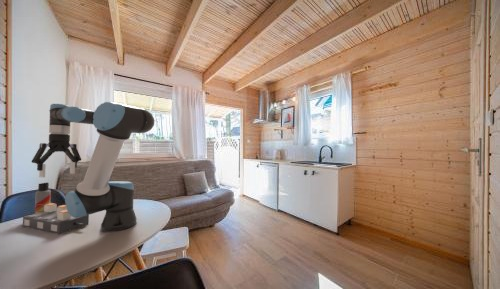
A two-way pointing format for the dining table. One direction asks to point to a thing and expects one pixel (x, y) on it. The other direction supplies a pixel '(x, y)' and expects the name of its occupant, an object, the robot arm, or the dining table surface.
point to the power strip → (53, 222)
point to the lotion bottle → (42, 197)
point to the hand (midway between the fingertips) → (58, 175)
